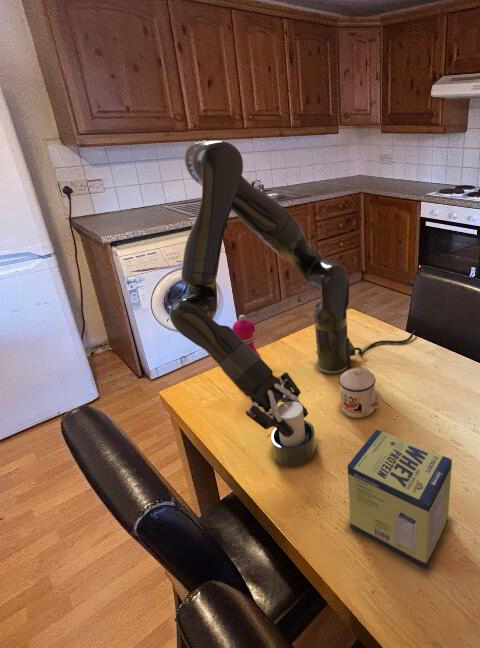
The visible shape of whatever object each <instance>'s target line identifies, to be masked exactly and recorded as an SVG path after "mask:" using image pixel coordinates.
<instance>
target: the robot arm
mask: <svg viewBox="0 0 480 648" xmlns="http://www.w3.org/2000/svg"><path fill="white" fill-rule="evenodd" d="M243 160H244V159H243V157H242V154H241V152H240V151H239V149H238V148H237V147H236V146H235V145H234V144H232V143H230V142H228V141H225V140H199V141H196V142H193V143H192V144H191V145H189V146H188V147H187V149H186V151H185V154H184V165H185V168H186V171H187V173H188V175H189V176H190V177H191V178H192V180H194V182H196V183H197V184H199V186H201V187H202V189H201V192H202V193H201V199H200V206H199V209H198V212H197V215H196V218H195V221H194V223H193V225H192V227H191V229H190V231H189V233H188V236H187V239H186V242H185V245H184V251H183V258H182V266H181V275H180V277H181V278H180V279H181V281H182V283H184V284H185V285H187V297H183V298H181V299H178V300H176V301H175V302H173V304H172V305H171V306H170V309H169V319H170V322H171V324H172V326H173V327H174V328H175V330H177V332H178V333H180V335H182V336H183V337H185V338H186V339H187V340H189V341H190V342H192V343H193V344H195V345H196V346H198V347H199V348H201V349H203V350H204V351H205V352H206V353H207V354H208V355H209V356H210V358H212V359H213V360H214V362H215V363H216V364H217V365H218V366H219V368H220V369H221V370H222V372H223V373H224V374H225V376H227V377H228V379H229V380H230V381H231V382H232V383H233V384H234V385H235V386H236V387H237V388H238V389H239V390H240V392H241V393H243V395H244V396H246V397H248V398H249V399H250V400H251V402H252V403H251V405H250V407H249V408H248V409H247V410H245V415H246V416H247V417H249V418H250V419H251V420H253V421H254V422H255V423H256V424H258V425H259V426H260V427H261V428H263V429H264V430H266V431H267V430H269V429H271V428H274V429H275V428H276V429H277V430H278V431H279V432H280V433H281V434H282V435H283V436H285V437H290V436H291V435H292V434H293V433H294V430H293V429H292V428H291V427H290V426H289V425H288V424H287V423H286V422H285V421H284V420H282V419H281V416H280V414H279V412H278V410H279V408H278V407H279V405H278V404H279V403H285V402H289V401H295V402H298V403H300V404H301V405H302V407H303V415H304V419H305V418H306V417H307V416H308V415H309V412H308V409H307V408H306V406H304V405H303V403H301V402H300V400H299V396H300V395H301V390H300V389H299V387H298V385H297V384H296V383H295V382H294V380H293V379H292V376H291V375H290V374H289V373H288V372H283V373H282V374H281V375H280V376H278V377H277V376H275V375H274V374H273V373H274V371H273V369H272V368H271V367H270V366H269V365H268V364H267V362H265V361H264V360H263V359H262V357H261V356H260V357H261V358H260V357H259V356H258V355H257V354H256V352H255V351H254V350H253V349H252V348H250V347H249V346H248V345H247V344H246V343H245V342H244V341H243V340H242V339H241V338H240V337H239V336H238V335H237V334H236V333H235V332H234V331H233V330H232V329H233V328H231V327H230V326H229V325H224V324H223V325H222V324H218V322H216V321H215V320H214V319H215V316H216V314H217V311H218V287H217V276H218V271H219V264H220V258H221V252H222V246H223V241H224V236H225V231H226V228H227V224H228V221H229V217H230V214H231V212H233V213H234V214H235V215H236V216H237V217H238V218H239V219H240V220H241V221H242V222H243V224H245V225H246V227H248V228H249V230H251V231H252V232H253V233H254V234H255V235H256V236H257V237H258V238H259V239H260V240H261V242H263V243H264V244H265V245H266V246H268V247H269V248H270V249H271V250H272V251H274V253H276V255H278V256H279V257H281V258H282V259H283V260H285V261H286V262H287V263H288V264H290V265H291V266H292V267H293V268H294V269H295V270H296V271H297V273H298V274H299V275H300V276H301V277H302V279H303V280H304V281H305V282H306V283H307V285H308V286H309V287H310V288H312V289H313V290H315V291H317V292H319V293H320V294H321V301H319V302H316V304H315V305H314V306H313V316H314V328H315V329H314V330H315V343H316V350H315V355H316V357H317V369H318V370H319V371H320V372H322V373H324V374H327V375H328V374H329V375H336V374H340V373H342V372H343V373H344V372H345V371H347V370H348V369H351V367H352V364H351V361H352V360H351V357H354V356H356V351H358V355H359V356H360V355H363V354H364V353H365V352H367V351H368V350H369V349H371V348H372V347H374V346H376V345H378V344H404V343H407V342H409V341H410V340H412V338H413V337H414V335H415V334H418V333H419V331H418V330H416V329H414V330H413V331H412V332H411V333H410V336H408V338H406V339H404V340H403V339H402V340H378V341H375V342H373V343H371V344H369V345H368V346H367V347H366V348H365V349H364V350H362V348H361V347H354V345H353V343H352V342H351V340H350V338H349V336H348V316H347V312H348V311H347V310H348V307H349V302H350V275H349V271H348V269H347V268H346V267H345V266H344V265H343V264H341V263H339V262H335V261H334V260H330V259H328V258H326V257H324V256H323V255H321V254H320V253H319V252H318V251H317V250H315V249H314V248H313V247H312V246H311V245H310V244H309V242H308V240H307V238H306V237H307V236H306V235H305V232H304V230H303V228H302V226H301V224H300V223H299V222H298V221H297V220H296V219H295V218H294V216H292V214H291V213H290V212H288V210H287V209H286V208H285V207H284V206H283V205H281V204H280V203H278V202H277V200H275V199H273V198H272V197H271V196H269V195H267V194H266V193H264V192H263V191H261V190H259V189H258V188H256V187H255V186H253V185H252V184H251V183H250V182H249V181H248V180H246V178H245V177H243V172H244V161H243ZM261 409H262V410H261Z"/></svg>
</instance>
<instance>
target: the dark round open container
mask: <svg viewBox="0 0 480 648" xmlns="http://www.w3.org/2000/svg"><path fill="white" fill-rule="evenodd" d="M304 426H305V440H304V442H303V443H302V444H300V445H299V446H297V447H292V448H290V447H285V446H283V445H282V444H281V442H280V436H279V431H278V430H277V429H276V428H275V427H274V429H273V430H272V431H271V435H270V438H271V444H272V452H273V457H274V459H275V461H276V462H277V463H278V464H279V465H281V466H283V467H288V468H294V467H299V466H301V465H304V464H307V463H308V462H309V461H311V459H312V458H313V457H314V455H315V453H316V450H317V449H316V448H317V443H316V434H315V427H314V425H312V423H311V422H310V421H308V420H306V419H304Z"/></svg>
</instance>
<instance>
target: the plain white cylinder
mask: <svg viewBox="0 0 480 648" xmlns="http://www.w3.org/2000/svg"><path fill="white" fill-rule="evenodd" d="M300 403H301V402H300ZM300 403H298V402H295V401H289V402H285V403H284V402H282V403H281V404H279V405H278V408H279V410H278V412H279V414H280V416H281V419H282V420H284V421H285V422H286V423H287V424H288V425H289V426H290V427H291V428H292V429H293V430H294V433H293V434H292V435H291V436H290V437H285V436H283V435H282V434H281V433H280V432H279V436H280V442H281V444H282V445H283V446H285V447H290V448H292V447H297V446H299V445H300V444H302V443H303V442H304V440H305V426H304V420H305V418H304V415H303V407H302V405H303V404H302V403H301V404H302V405H301V404H300Z"/></svg>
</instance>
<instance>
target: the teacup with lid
mask: <svg viewBox="0 0 480 648" xmlns="http://www.w3.org/2000/svg"><path fill="white" fill-rule="evenodd" d="M338 380H339V382H338V383H339V385H340V400H341V410H342V412H343V413H344V414H345V415H347V416H348V417H350V418H354V419H355V418H357V419H360V418H364V417H367V416H370V415H371V414H372V413H373V412H374V411H375V409H379V408H380V407H381V406H383V403H384V398H383V395H382V394H381V392H379V391H378V390H376V389H375V388H376V385H375V384H376V381H377V380H376V376H375V374H374V373H373V372H372V371H370V370H368V369H367V368H362V367H353V368H349V369H346V370H345V371H343V373H342V374H341V375H340V377H339V379H338ZM376 397H377V399H378V403H376Z"/></svg>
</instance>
